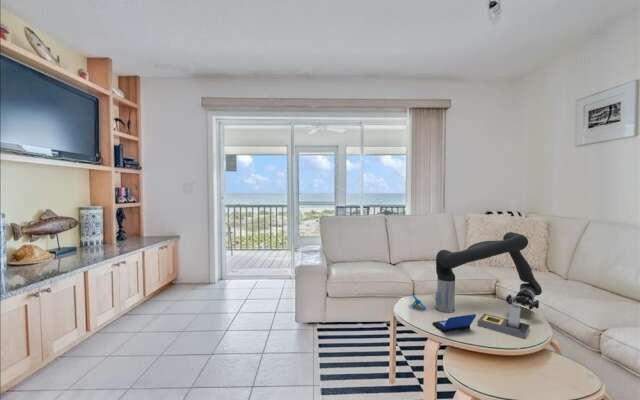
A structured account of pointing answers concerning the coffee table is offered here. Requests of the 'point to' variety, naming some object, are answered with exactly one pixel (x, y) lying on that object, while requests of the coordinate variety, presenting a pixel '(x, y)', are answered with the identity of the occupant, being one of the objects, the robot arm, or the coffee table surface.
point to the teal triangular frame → (417, 302)
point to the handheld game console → (455, 323)
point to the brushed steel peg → (514, 316)
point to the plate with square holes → (503, 326)
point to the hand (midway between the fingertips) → (519, 305)
